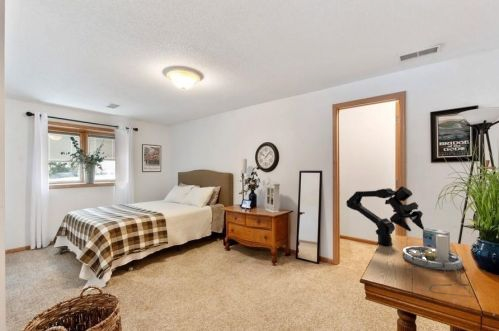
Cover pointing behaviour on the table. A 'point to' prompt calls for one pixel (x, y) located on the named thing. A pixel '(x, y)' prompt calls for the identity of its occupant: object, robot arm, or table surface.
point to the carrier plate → (430, 258)
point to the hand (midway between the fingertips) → (416, 230)
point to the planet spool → (442, 249)
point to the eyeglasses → (445, 272)
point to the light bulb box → (433, 237)
